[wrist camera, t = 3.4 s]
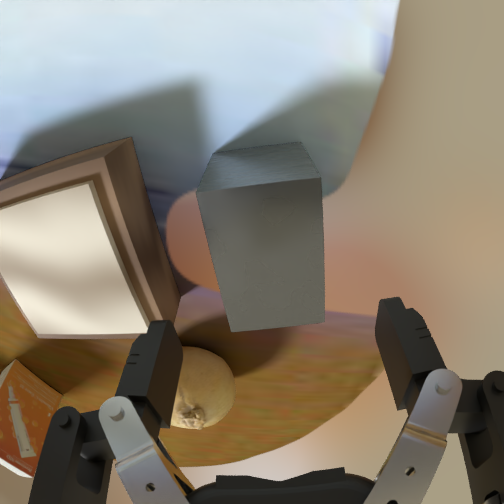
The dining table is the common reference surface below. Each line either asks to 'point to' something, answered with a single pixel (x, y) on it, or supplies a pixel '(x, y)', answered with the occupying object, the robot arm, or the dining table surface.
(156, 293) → the stand
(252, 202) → the block
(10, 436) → the small box
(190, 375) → the onion
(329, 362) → the dining table surface
